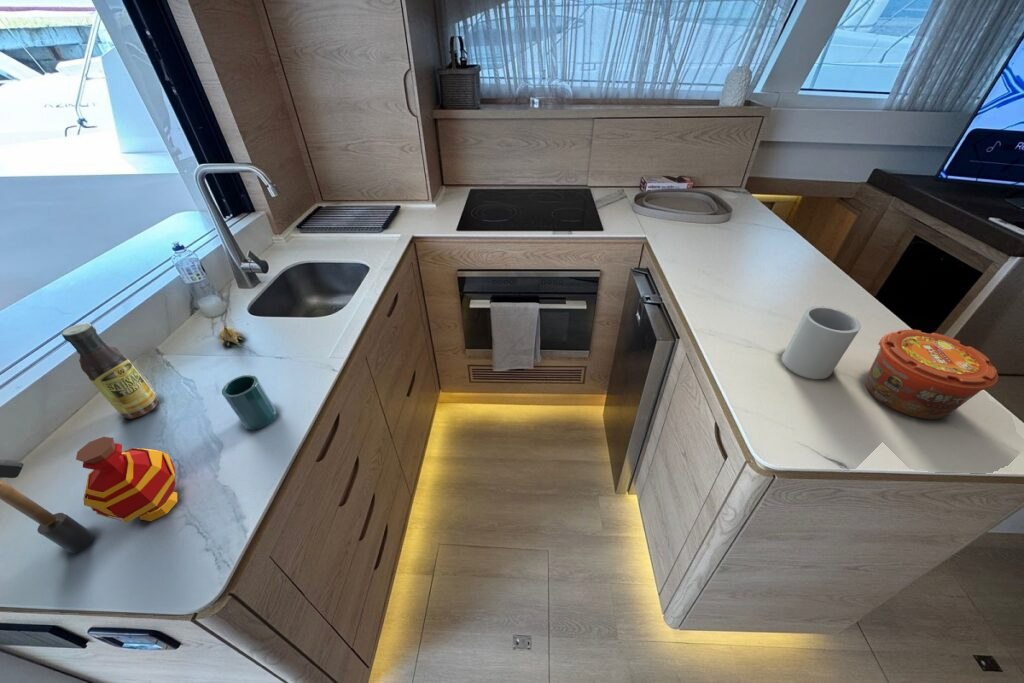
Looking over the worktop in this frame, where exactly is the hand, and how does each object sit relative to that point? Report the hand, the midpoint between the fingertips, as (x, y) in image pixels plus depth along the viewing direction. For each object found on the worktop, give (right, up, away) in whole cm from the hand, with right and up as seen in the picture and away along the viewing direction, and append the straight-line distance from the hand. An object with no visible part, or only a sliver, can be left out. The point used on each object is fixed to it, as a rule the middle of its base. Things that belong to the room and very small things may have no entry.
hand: (8, 495), depth 51 cm
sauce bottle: (-11, +6, +30) cm, 32 cm away
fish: (-3, +19, +46) cm, 50 cm away
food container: (+142, +9, +26) cm, 145 cm away
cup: (+129, +15, +34) cm, 134 cm away
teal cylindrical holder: (+16, +5, +27) cm, 31 cm away
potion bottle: (+8, -7, +13) cm, 16 cm away
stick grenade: (0, -10, +8) cm, 13 cm away
